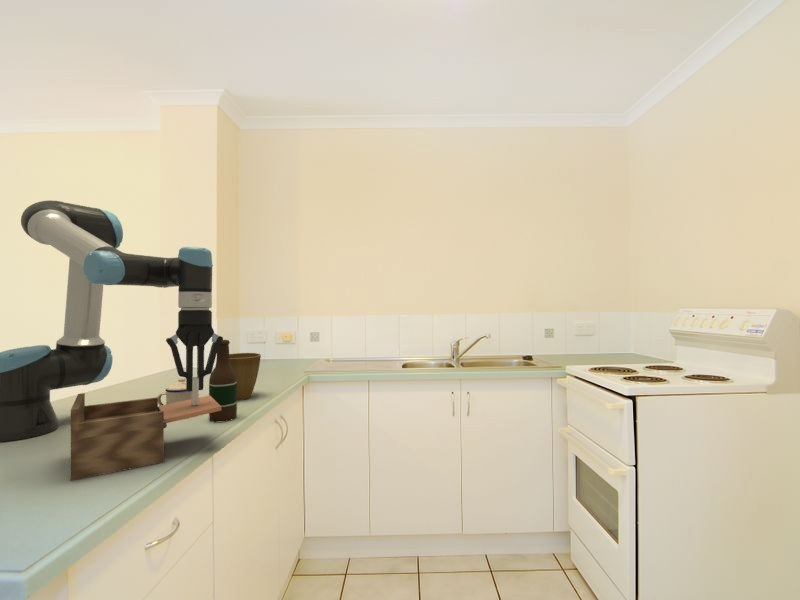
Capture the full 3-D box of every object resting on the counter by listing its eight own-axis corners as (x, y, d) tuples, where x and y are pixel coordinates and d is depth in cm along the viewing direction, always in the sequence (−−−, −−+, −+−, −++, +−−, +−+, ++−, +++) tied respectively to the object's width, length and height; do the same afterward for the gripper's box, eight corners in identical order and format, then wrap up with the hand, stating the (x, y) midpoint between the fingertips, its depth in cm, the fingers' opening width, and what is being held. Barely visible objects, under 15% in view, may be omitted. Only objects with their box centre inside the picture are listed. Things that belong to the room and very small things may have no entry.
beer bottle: (209, 423, 118) (209, 341, 118) (208, 417, 125) (208, 339, 125) (238, 420, 122) (238, 340, 122) (235, 414, 129) (235, 338, 129)
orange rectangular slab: (164, 419, 91) (221, 406, 98) (158, 406, 103) (209, 395, 110) (164, 427, 91) (221, 413, 98) (159, 413, 103) (210, 401, 110)
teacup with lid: (202, 411, 133) (202, 375, 133) (190, 418, 124) (190, 380, 124) (165, 411, 132) (165, 376, 132) (149, 419, 123) (149, 381, 123)
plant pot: (216, 396, 154) (216, 354, 154) (257, 392, 161) (257, 351, 161) (219, 404, 141) (219, 358, 141) (264, 399, 148) (264, 356, 148)
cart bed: (70, 480, 80) (70, 409, 80) (78, 453, 95) (78, 393, 95) (166, 461, 90) (166, 398, 90) (160, 439, 104) (160, 385, 105)
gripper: (167, 309, 95) (166, 410, 94) (226, 309, 102) (225, 403, 101) (164, 309, 101) (163, 404, 100) (220, 309, 108) (219, 397, 107)
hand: (194, 403), depth 101 cm, fingers closed
